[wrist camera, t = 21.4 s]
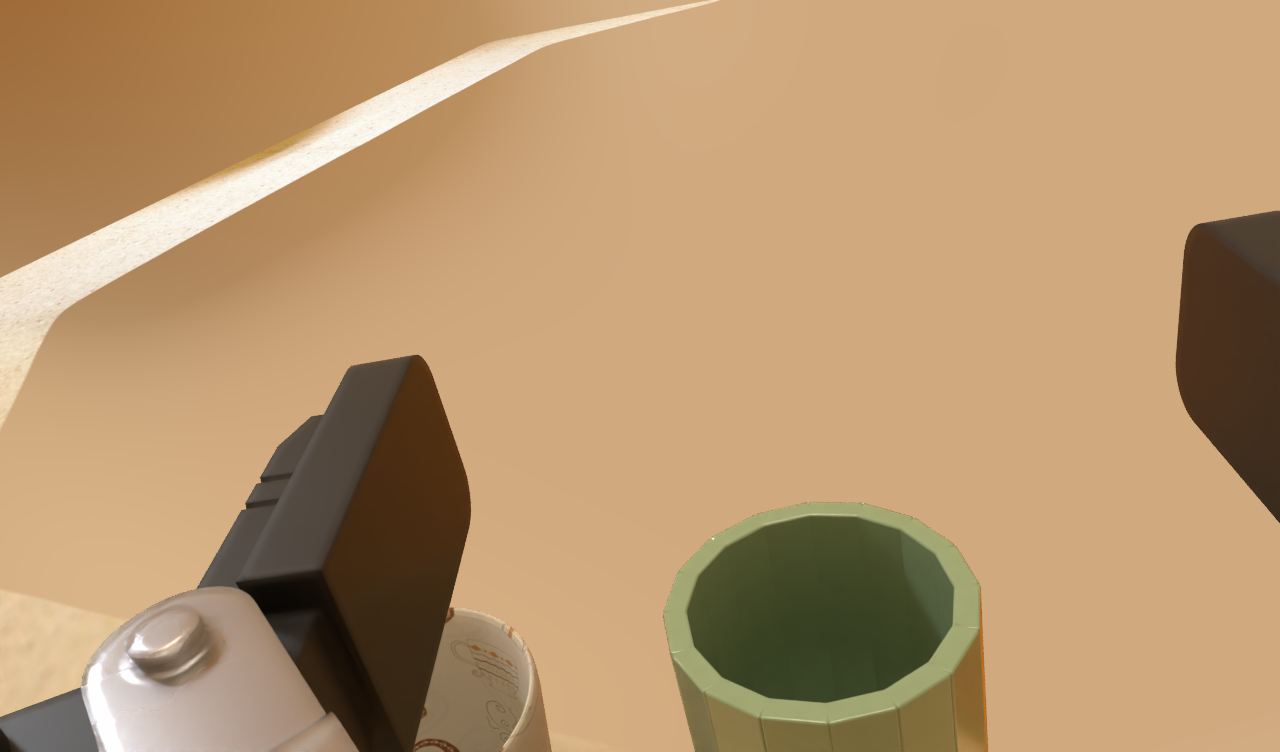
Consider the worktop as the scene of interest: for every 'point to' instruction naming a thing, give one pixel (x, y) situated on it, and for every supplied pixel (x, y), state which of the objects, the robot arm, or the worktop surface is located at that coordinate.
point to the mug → (482, 690)
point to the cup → (829, 636)
